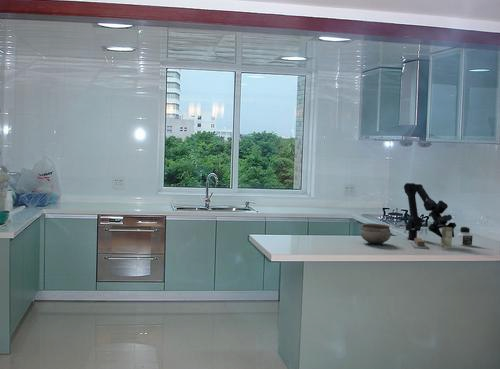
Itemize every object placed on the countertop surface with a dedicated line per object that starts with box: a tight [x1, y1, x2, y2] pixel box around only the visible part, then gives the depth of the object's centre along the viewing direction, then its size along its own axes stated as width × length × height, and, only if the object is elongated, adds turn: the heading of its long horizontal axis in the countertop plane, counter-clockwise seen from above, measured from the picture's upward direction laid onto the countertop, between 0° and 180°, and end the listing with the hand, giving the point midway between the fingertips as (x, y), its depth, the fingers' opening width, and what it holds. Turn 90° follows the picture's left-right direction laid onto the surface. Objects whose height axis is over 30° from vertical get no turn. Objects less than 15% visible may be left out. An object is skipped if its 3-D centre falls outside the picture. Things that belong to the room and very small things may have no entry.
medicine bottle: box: [456, 226, 474, 247], centre depth 399 cm, size 7×7×12 cm
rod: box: [440, 227, 453, 249], centre depth 384 cm, size 4×4×13 cm
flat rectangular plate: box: [409, 237, 430, 250], centre depth 385 cm, size 20×9×4 cm, turn 173°
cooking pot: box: [359, 222, 393, 246], centre depth 386 cm, size 25×19×12 cm
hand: (447, 237), depth 383 cm, fingers open, 9 cm apart
